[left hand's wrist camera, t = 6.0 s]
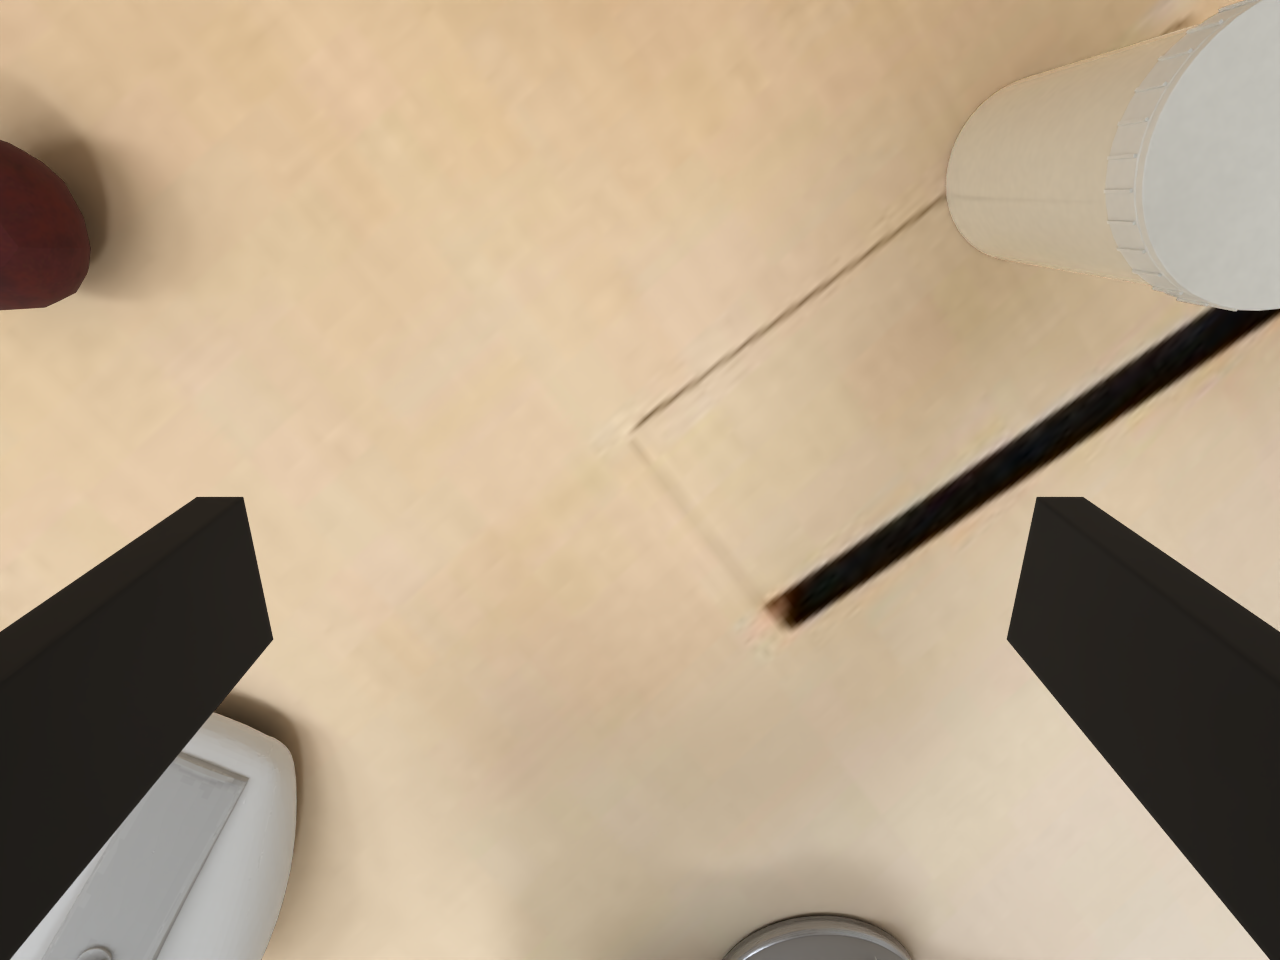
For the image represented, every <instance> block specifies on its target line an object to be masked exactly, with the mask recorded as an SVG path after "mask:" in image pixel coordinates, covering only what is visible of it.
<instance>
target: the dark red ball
mask: <svg viewBox="0 0 1280 960" xmlns="http://www.w3.org/2000/svg"><path fill="white" fill-rule="evenodd" d="M90 250H91V248H90V243H89V239H88V234H87V230H86V225H85V221H84V218H83V216H82V214H81V212H80V210H79V208H78V206H77V204H76V203H75V201H74V199H73V197H72V195H71V193H70V192H69V190H68V188H67V186H66V184H65V182H64V181H62V180H61V179H60V178H59V177H58V176H57V175H56V174H55V173H54V172H53V171H51V170H50V169H49V168H48V167H47V166H46V165H45V164H44V163H43V162H41V161H39V160H38V159H36V158H34V157H33V156H31V155H29V154H28V153H26V152H24V151H23V150H21V149H19V148H17V147H15V146H14V145H12V144H10V143H8V142H5V141H2V140H0V310H12V309H28V308H44V307H47V306H49V305H52V304H54V303H56V302H58V301H60V300H62V299H64V298H66V297H68V296H70V295H72V294H74V293H76V292H77V290H78V288H79V287H80V285H81V283H82V281H83V280H84V278H85V276H86V275H87V272H88V269H89V259H90Z"/></svg>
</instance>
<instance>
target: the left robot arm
mask: <svg viewBox="0 0 1280 960" xmlns="http://www.w3.org/2000/svg"><path fill="white" fill-rule="evenodd" d="M272 640H273V636H272V631H271V626H270V622H269V617H268V612H267V607H266V603H265V598H264V593H263V588H262V584H261V579H260V574H259V570H258V565H257V560H256V555H255V551H254V546H253V541H252V536H251V532H250V527H249V522H248V517H247V513H246V508H245V503H244V498H243V497H196V498H195V499H193V500H192V501H190V502H189V503H187V504H186V505H185V506H183V507H182V508H180V509H179V510H177V511H176V512H174V513H173V514H171V515H170V516H169V517H167V518H166V519H164V520H163V521H161V522H160V523H158V524H157V525H155V526H154V527H153V528H151V529H150V530H148V531H147V532H145V533H144V534H142V535H141V536H139V537H138V538H136V539H135V540H134V541H132V542H131V543H129V544H128V545H126V546H125V547H123V548H122V549H120V550H119V551H118V552H116V553H115V554H113V555H112V556H110V557H109V558H107V559H106V560H104V561H103V562H101V563H100V564H99V565H97V566H96V567H94V568H93V569H91V570H90V571H88V572H87V573H85V574H84V575H83V576H81V577H80V578H78V579H77V580H75V581H74V582H72V583H71V584H69V585H68V586H67V587H65V588H64V589H62V590H61V591H59V592H58V593H56V594H55V595H53V596H52V597H50V598H49V599H48V600H46V601H45V602H43V603H42V604H40V605H39V606H37V607H36V608H34V609H33V610H32V611H30V612H29V613H27V614H26V615H24V616H23V617H21V618H20V619H18V620H17V621H16V622H14V623H13V624H11V625H10V626H8V627H7V628H5V629H4V630H2V631H1V632H0V960H10V959H11V958H12V957H13V955H14V954H15V953H16V952H17V951H18V949H19V948H20V947H21V946H22V944H23V943H24V942H25V941H26V940H27V938H28V937H29V936H30V935H31V934H32V932H33V931H34V930H35V929H36V927H37V926H38V925H39V924H40V923H41V921H42V920H43V919H44V918H45V916H46V915H47V914H48V913H49V912H50V910H51V909H52V908H53V907H54V906H55V904H56V903H57V902H58V901H59V899H60V898H61V897H62V896H63V895H64V893H65V892H66V891H67V890H68V889H69V887H70V886H71V885H72V884H73V882H74V881H75V880H76V879H77V878H78V876H79V875H80V874H81V873H82V871H83V870H84V869H85V868H86V867H87V865H88V864H89V863H90V862H91V861H92V859H93V858H94V857H95V856H96V854H97V853H98V852H99V851H100V850H101V848H102V847H103V846H104V845H105V843H106V842H107V841H108V840H109V839H110V837H111V836H112V835H113V834H114V833H115V831H116V830H117V829H118V828H119V826H120V825H121V824H122V823H123V822H124V820H125V819H126V818H127V817H128V815H129V814H130V813H131V812H132V811H133V809H134V808H135V807H136V806H137V805H138V803H139V802H140V801H141V800H142V798H143V797H144V796H145V795H146V794H147V792H148V791H149V790H150V789H151V787H152V786H153V785H154V784H155V783H156V781H157V780H158V779H159V778H160V777H161V775H162V774H163V773H164V772H165V770H166V769H167V768H168V767H169V766H170V764H171V763H172V762H173V761H174V760H175V758H176V757H177V756H178V755H179V753H180V752H181V751H182V750H183V749H184V747H185V746H186V745H187V744H188V742H189V741H190V740H191V739H192V738H193V736H194V735H195V734H196V733H197V732H198V730H199V729H200V728H201V727H202V725H203V724H204V723H205V722H206V721H207V719H208V718H209V717H210V716H211V714H212V713H213V712H214V711H215V710H216V708H217V707H218V706H219V705H220V704H221V702H222V701H223V700H224V699H225V697H226V696H227V695H228V694H229V693H230V691H231V690H232V689H233V688H234V686H235V685H236V684H237V683H238V682H239V680H240V679H241V678H242V677H243V676H244V674H245V673H246V672H247V671H248V669H249V668H250V667H251V666H252V665H253V663H254V662H255V661H256V660H257V658H258V657H259V656H260V655H261V654H262V652H263V651H264V650H265V649H266V648H267V646H268V645H269V644H270V643H271V641H272ZM1007 640H1008V641H1009V643H1010V644H1011V645H1012V646H1013V648H1014V649H1015V650H1016V651H1017V652H1018V654H1019V655H1020V656H1021V657H1022V658H1023V660H1024V661H1025V662H1026V663H1027V665H1028V666H1029V667H1030V668H1031V669H1032V671H1033V672H1034V673H1035V674H1036V676H1037V677H1038V678H1039V679H1040V680H1041V682H1042V683H1043V684H1044V685H1045V686H1046V688H1047V689H1048V690H1049V691H1050V693H1051V694H1052V695H1053V696H1054V697H1055V699H1056V700H1057V701H1058V702H1059V704H1060V705H1061V706H1062V707H1063V708H1064V710H1065V711H1066V712H1067V713H1068V714H1069V716H1070V717H1071V718H1072V719H1073V721H1074V722H1075V723H1076V724H1077V725H1078V727H1079V728H1080V729H1081V730H1082V732H1083V733H1084V734H1085V735H1086V736H1087V738H1088V739H1089V740H1090V741H1091V742H1092V744H1093V745H1094V746H1095V747H1096V749H1097V750H1098V751H1099V752H1100V753H1101V755H1102V756H1103V757H1104V758H1105V760H1106V761H1107V762H1108V763H1109V764H1110V766H1111V767H1112V768H1113V769H1114V770H1115V772H1116V773H1117V774H1118V775H1119V777H1120V778H1121V779H1122V780H1123V781H1124V783H1125V784H1126V785H1127V786H1128V787H1129V789H1130V790H1131V791H1132V792H1133V794H1134V795H1135V796H1136V797H1137V798H1138V800H1139V801H1140V802H1141V803H1142V805H1143V806H1144V807H1145V808H1146V809H1147V811H1148V812H1149V813H1150V814H1151V815H1152V817H1153V818H1154V819H1155V820H1156V822H1157V823H1158V824H1159V825H1160V826H1161V828H1162V829H1163V830H1164V831H1165V833H1166V834H1167V835H1168V836H1169V837H1170V839H1171V840H1172V841H1173V842H1174V843H1175V845H1176V846H1177V847H1178V848H1179V850H1180V851H1181V852H1182V853H1183V854H1184V856H1185V857H1186V858H1187V859H1188V861H1189V862H1190V863H1191V864H1192V865H1193V867H1194V868H1195V869H1196V870H1197V871H1198V873H1199V874H1200V875H1201V876H1202V878H1203V879H1204V880H1205V881H1206V882H1207V884H1208V885H1209V886H1210V887H1211V889H1212V890H1213V891H1214V892H1215V893H1216V895H1217V896H1218V897H1219V898H1220V899H1221V901H1222V902H1223V903H1224V904H1225V906H1226V907H1227V908H1228V909H1229V910H1230V912H1231V913H1232V914H1233V915H1234V916H1235V918H1236V919H1237V920H1238V921H1239V923H1240V924H1241V925H1242V926H1243V927H1244V929H1245V930H1246V931H1247V932H1248V934H1249V935H1250V936H1251V937H1252V938H1253V940H1254V941H1255V942H1256V943H1257V944H1258V946H1259V947H1260V948H1261V949H1262V951H1263V952H1264V953H1265V954H1266V955H1267V957H1268V958H1269V959H1270V960H1280V632H1279V631H1278V630H1276V629H1275V628H1273V627H1272V626H1270V625H1269V624H1267V623H1266V622H1264V621H1263V620H1262V619H1260V618H1259V617H1257V616H1256V615H1254V614H1253V613H1251V612H1250V611H1248V610H1247V609H1246V608H1244V607H1243V606H1241V605H1240V604H1238V603H1237V602H1235V601H1234V600H1232V599H1231V598H1230V597H1228V596H1227V595H1225V594H1224V593H1222V592H1221V591H1219V590H1218V589H1216V588H1215V587H1213V586H1212V585H1211V584H1209V583H1208V582H1206V581H1205V580H1203V579H1202V578H1200V577H1199V576H1197V575H1196V574H1195V573H1193V572H1192V571H1190V570H1189V569H1187V568H1186V567H1184V566H1183V565H1181V564H1180V563H1179V562H1177V561H1176V560H1174V559H1173V558H1171V557H1170V556H1168V555H1167V554H1165V553H1164V552H1162V551H1161V550H1160V549H1158V548H1157V547H1155V546H1154V545H1152V544H1151V543H1149V542H1148V541H1146V540H1145V539H1144V538H1142V537H1141V536H1139V535H1138V534H1136V533H1135V532H1133V531H1132V530H1130V529H1129V528H1127V527H1126V526H1125V525H1123V524H1122V523H1120V522H1119V521H1117V520H1116V519H1114V518H1113V517H1111V516H1110V515H1109V514H1107V513H1106V512H1104V511H1103V510H1101V509H1100V508H1098V507H1097V506H1095V505H1094V504H1093V503H1091V502H1090V501H1088V500H1087V499H1085V498H1084V497H1037V498H1036V503H1035V508H1034V513H1033V517H1032V522H1031V527H1030V532H1029V536H1028V541H1027V546H1026V551H1025V555H1024V560H1023V565H1022V570H1021V574H1020V579H1019V584H1018V588H1017V593H1016V598H1015V603H1014V607H1013V612H1012V617H1011V622H1010V626H1009V631H1008V636H1007ZM723 960H912V959H911V957H910V955H909V954H908V952H907V951H906V949H905V948H904V947H903V946H902V945H901V944H900V943H899V942H898V941H897V940H896V939H895V938H894V937H893V936H891V935H890V934H888V933H887V932H885V931H883V930H881V929H880V928H878V927H876V926H873V925H871V924H868V923H865V922H862V921H859V920H855V919H851V918H845V917H837V916H808V917H800V918H794V919H789V920H785V921H782V922H778V923H775V924H773V925H770V926H767V927H765V928H763V929H761V930H758V931H757V932H755V933H753V934H751V935H750V936H748V937H746V938H745V939H743V940H742V941H741V942H740V943H738V944H737V945H736V946H735V947H734V948H733V949H732V950H731V951H730V952H729V953H728V954H727V955H726V956H725V958H724V959H723Z"/></svg>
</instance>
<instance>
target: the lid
mask: <svg viewBox="0 0 1280 960" xmlns="http://www.w3.org/2000/svg"><path fill="white" fill-rule="evenodd" d="M1186 33H1187V34H1186V35H1185V36H1184V37H1183V38H1182V39H1180V40H1179V41H1178V42H1177V43H1176V44H1175V45H1173V46H1172V47H1171V48H1170V49H1169V51H1168V52H1167V53H1166V54H1165V55H1163V56H1160V57H1159V58H1158V59H1157V60H1158V62H1157V63H1156V64H1155V66H1154V67H1153V68H1152V70H1151V71H1150V72H1149V73H1148V75H1147V76H1146V78H1145V79H1144V80H1143V81H1142V83H1141V84H1140V86H1139V87H1137V88H1136V89H1135V90H1134V92H1135V94H1134V96H1133V97H1132V99H1131V101H1130V102H1129V104H1128V106H1127V108H1126V110H1125V113H1124V115H1123V117H1122V119H1121V121H1119V122H1118V124H1117V125H1118V129H1117V131H1116V134H1115V137H1114V140H1113V143H1112V147H1111V151H1110V155H1109V156H1107V160H1108V164H1107V173H1106V182H1105V190H1104V193H1105V200H1106V209H1107V216H1108V221H1107V224H1109V225H1110V228H1111V231H1112V235H1113V238H1114V240H1115V242H1116V244H1117V246H1118V248H1116V249H1117V251H1120V252H1121V254H1122V255H1123V257H1124V258H1125V260H1126V261H1127V263H1128V264H1129V266H1130V267H1131V268H1132V269H1133V270H1132V273H1134V274H1138V275H1139V276H1140V277H1141V278H1142V279H1143V280H1145V281H1146V282H1147V283H1149V284H1150V285H1151V286H1153V288H1152V289H1153V290H1156V291H1161V292H1164V293H1166V294H1168V295H1171V296H1174V297H1177V299H1176V300H1177V301H1181V302H1186V303H1192V304H1197V305H1202V306H1210V307H1215V308H1220V309H1226V310H1231V311H1237V310H1256V311H1260V310H1270V309H1279V308H1280V0H1244V1H1241V2H1237V3H1234V4H1231V5H1228V6H1225V7H1222V8H1220V9H1219V13H1217V14H1215V15H1213V16H1211V17H1210V18H1208V19H1207V20H1205V21H1204V22H1202V23H1201V24H1199V25H1198V26H1197V27H1194V28H1191V29H1188V30H1187V31H1186Z"/></svg>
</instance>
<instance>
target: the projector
mask: <svg viewBox="0 0 1280 960" xmlns="http://www.w3.org/2000/svg"><path fill="white" fill-rule="evenodd" d="M296 806H297V794H296V776H295V768H294V762H293V758H292V755H291V753H290V751H289V750H288V748H287V747H286V746H285V745H284V744H283V743H281V742H280V741H279V740H277V739H275V738H274V737H270V736H268V735H266V734H264V733H262V732H260V731H258V730H256V729H254V728H252V727H249V726H247V725H245V724H243V723H240V722H238V721H235V720H233V719H230V718H228V717H225V716H222V715H220V714H217V713H214V712H213V713H212V714H211V716H210V717H209V718H208V719H207V721H206V722H205V723H204V724H203V725H202V727H201V728H200V729H199V730H198V732H197V733H196V734H195V735H194V736H193V738H192V739H191V740H190V741H189V742H188V744H187V745H186V746H185V747H184V749H183V750H182V751H181V752H180V753H179V755H178V756H177V757H176V758H175V760H174V761H173V762H172V763H171V764H170V766H169V767H168V768H167V769H166V770H165V772H164V773H163V774H162V775H161V777H160V778H159V779H158V780H157V781H156V783H155V784H154V785H153V786H152V787H151V789H150V790H149V791H148V792H147V794H146V795H145V796H144V797H143V798H142V800H141V801H140V802H139V803H138V805H137V806H136V807H135V808H134V809H133V811H132V812H131V813H130V814H129V815H128V817H127V818H126V819H125V820H124V822H123V823H122V824H121V825H120V826H119V828H118V829H117V830H116V831H115V833H114V834H113V835H112V836H111V837H110V839H109V840H108V841H107V842H106V843H105V845H104V846H103V847H102V848H101V850H100V851H99V852H98V853H97V854H96V856H95V857H94V858H93V859H92V861H91V862H90V863H89V864H88V865H87V867H86V868H85V869H84V870H83V871H82V873H81V874H80V875H79V876H78V878H77V879H76V880H75V881H74V882H73V884H72V885H71V886H70V887H69V889H68V890H67V891H66V892H65V893H64V895H63V896H62V897H61V898H60V899H59V901H58V902H57V903H56V904H55V906H54V907H53V908H52V909H51V910H50V912H49V913H48V914H47V915H46V916H45V918H44V919H43V920H42V921H41V923H40V924H39V925H38V926H37V927H36V929H35V930H34V931H33V932H32V934H31V935H30V936H29V937H28V938H27V940H26V941H25V942H24V943H23V944H22V946H21V947H20V948H19V949H18V951H17V952H16V953H15V954H14V955H13V957H12V958H11V959H10V960H262V957H263V955H264V953H265V950H266V948H267V946H268V943H269V941H270V938H271V935H272V933H273V930H274V927H275V925H276V922H277V919H278V916H279V913H280V909H281V906H282V903H283V899H284V896H285V892H286V887H287V883H288V879H289V874H290V870H291V864H292V857H293V850H294V841H295V830H296Z"/></svg>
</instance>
